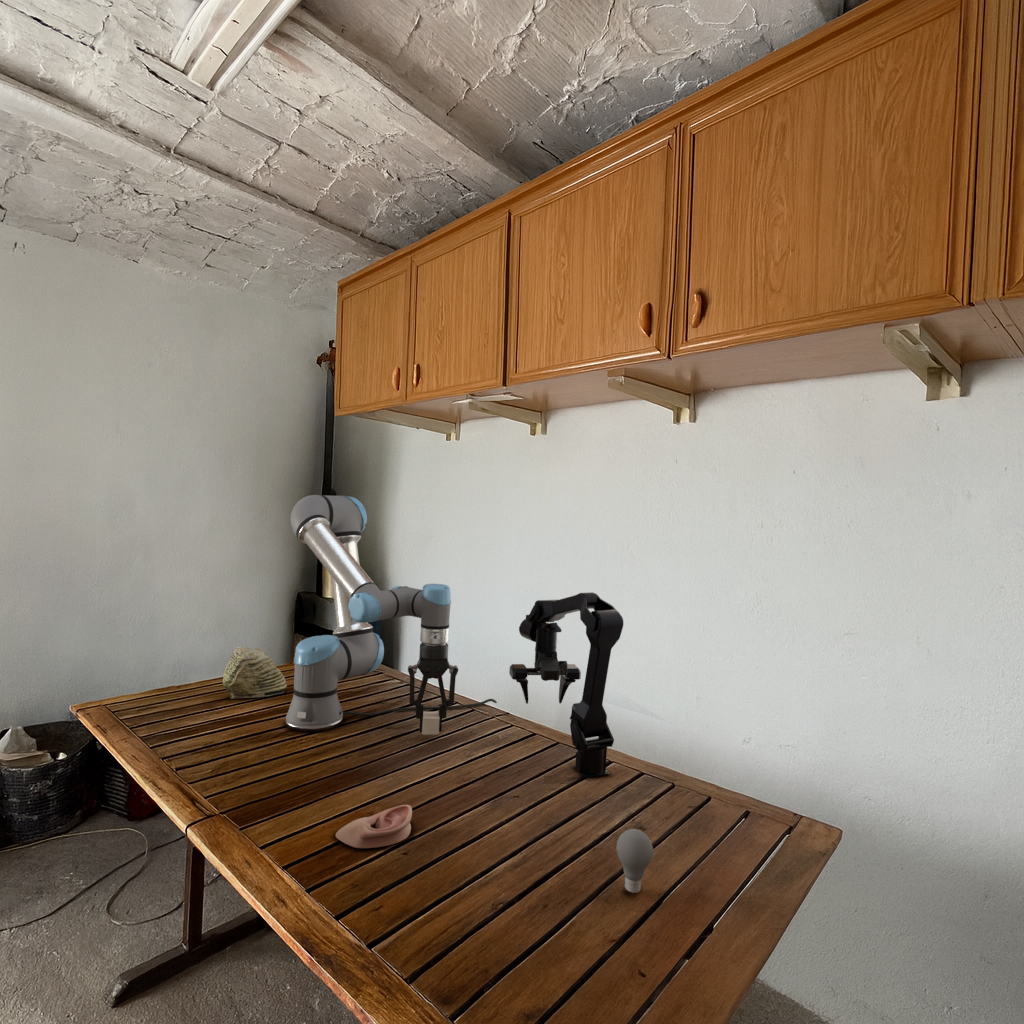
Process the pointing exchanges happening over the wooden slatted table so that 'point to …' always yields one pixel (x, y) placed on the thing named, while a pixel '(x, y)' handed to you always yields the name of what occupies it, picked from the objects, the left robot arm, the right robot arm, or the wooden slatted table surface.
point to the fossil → (252, 674)
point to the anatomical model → (378, 828)
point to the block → (430, 723)
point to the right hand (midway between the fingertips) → (543, 703)
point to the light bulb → (634, 857)
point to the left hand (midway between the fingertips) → (430, 730)
